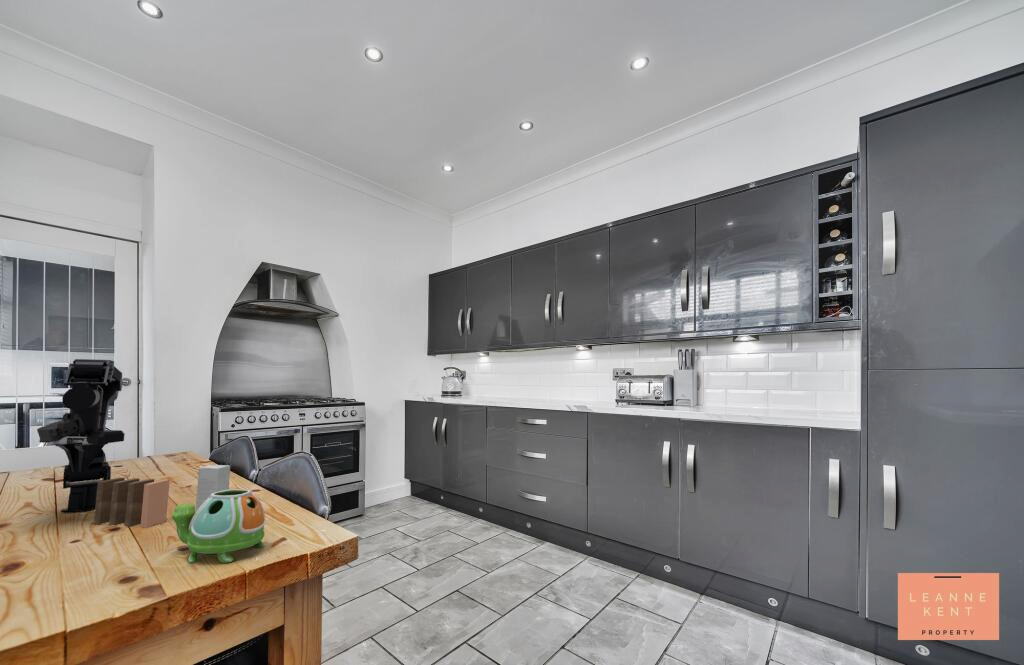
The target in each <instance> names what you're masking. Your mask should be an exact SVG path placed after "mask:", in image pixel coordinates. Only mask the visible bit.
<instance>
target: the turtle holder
mask: <svg viewBox="0 0 1024 665" xmlns="http://www.w3.org/2000/svg"><path fill="white" fill-rule="evenodd" d="M247 499H249V501H247ZM195 511H196V505H194V504H193V503H191V504H183V503H180V504H178V505H177V506H176V507H174V512H173V513H171V519H172V521H174V523H175V526H176V533H177V536H178V539H179V540H180V542H182V543H183V544H185V545H187V548H188V549H189V550H190V554H189V556H188V558H187V563H189V564H194V563H196V562H197V561H198V557H199V554H205V555H206V554H209V555H210V554H212V555H213V554H217V558H218V561H219V562H220V563H225V564H226V563H227V564H228V563H232V562H233V561H234V558H233V557H232V556H231V555H230V554H229V553H230V552H235V551H240V550H243V549H246V548H250V547H253V548H256V549H257V548H263V547H265V543H264V542H263V541H262V540H263V538H264V537H265V531H264V528H265V524H266V512H265V510H264V506H263V504H262V502H261V500H260V499H259V498H258V497H257V496H256V494H254V493H253V492H252V490H251V489H243V488H242V489H241V488H240V489H239V488H238V489H236V488H235V489H229V490H223V491H219V492H215V493H212V494H211V495H210V497H209V498H208V499H207V500H206V501H205V502H204V503H203V504H202V505H201V506H200V507H199V509H198V510H197V511H196V512H195Z"/></svg>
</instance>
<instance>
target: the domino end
mask: <svg viewBox="0 0 1024 665" xmlns="http://www.w3.org/2000/svg"><path fill="white" fill-rule="evenodd" d="M170 481H171V480H170V479H159V480H155V481H154V482H152V483H147V484H144V494H143V504H142V515H141V524H140V527H141V529H147V528H150V527H154V526H156V525H160V524H163V523H165V522H167V515H168V514H167V512H168V505H169V504H168V503H169V493H170V483H171V482H170ZM140 527H139V528H140Z"/></svg>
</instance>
